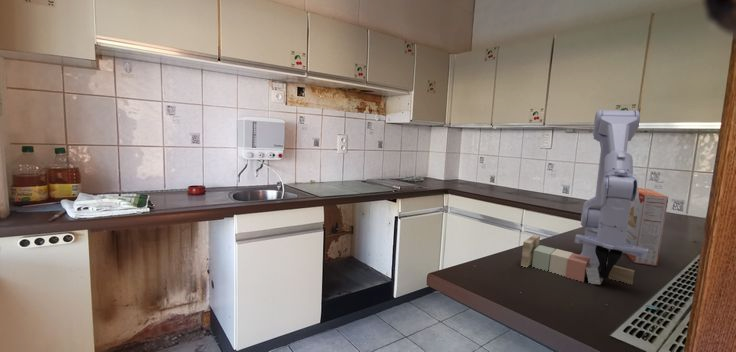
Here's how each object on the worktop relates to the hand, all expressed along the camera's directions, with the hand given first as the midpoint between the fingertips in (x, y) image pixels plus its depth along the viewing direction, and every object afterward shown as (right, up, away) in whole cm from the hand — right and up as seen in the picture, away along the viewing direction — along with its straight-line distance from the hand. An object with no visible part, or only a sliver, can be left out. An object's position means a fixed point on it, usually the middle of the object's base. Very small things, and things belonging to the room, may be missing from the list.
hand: (604, 277), depth 83 cm
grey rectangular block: (-1, -1, +1) cm, 2 cm away
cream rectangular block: (-7, 0, +7) cm, 10 cm away
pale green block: (-11, 0, +9) cm, 14 cm away
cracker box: (+24, 0, +20) cm, 31 cm away
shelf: (-5, -1, +5) cm, 7 cm away
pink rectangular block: (-5, -1, +4) cm, 6 cm away
